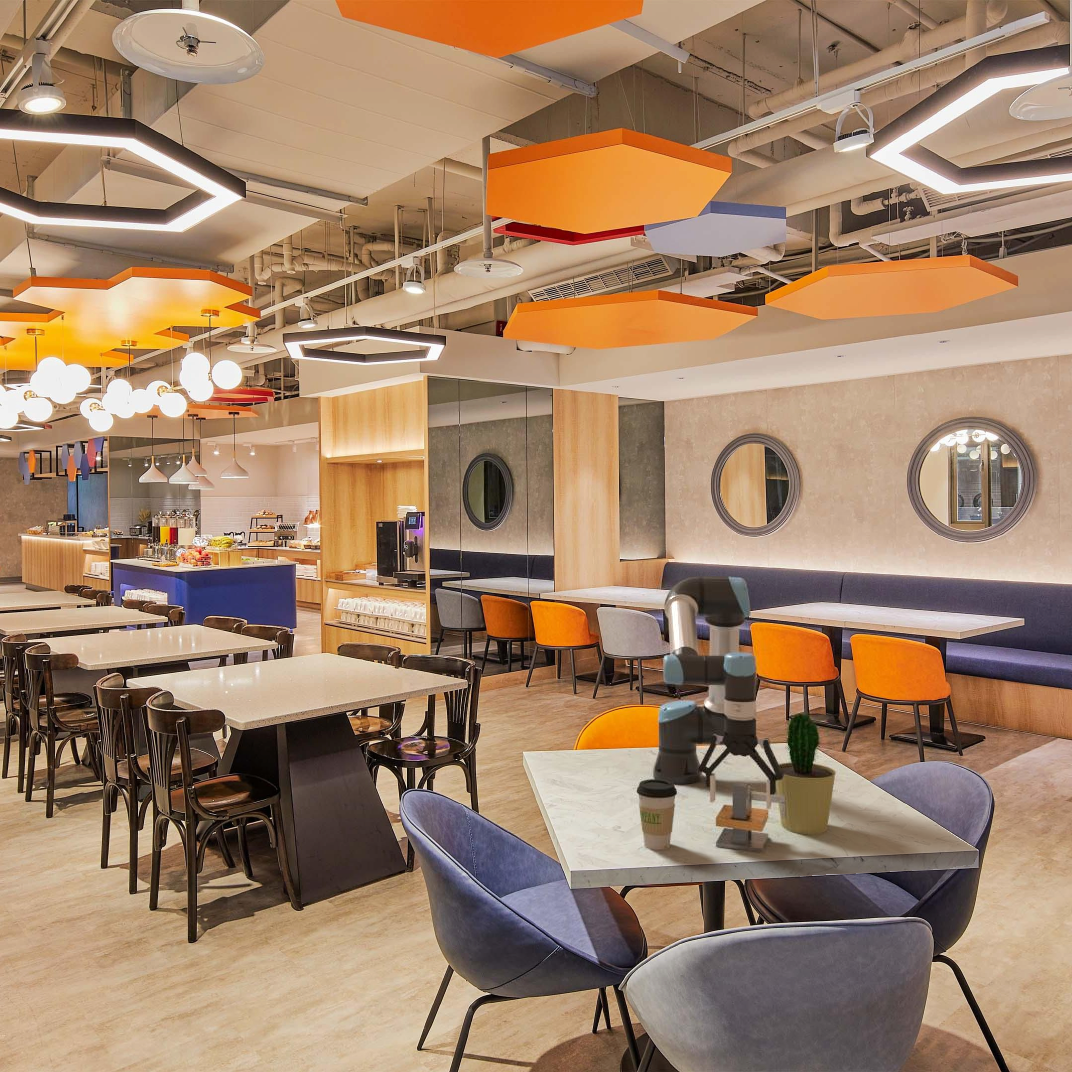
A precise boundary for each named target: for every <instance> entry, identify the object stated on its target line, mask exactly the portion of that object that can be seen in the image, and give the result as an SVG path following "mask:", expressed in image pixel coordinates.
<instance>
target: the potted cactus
mask: <svg viewBox="0 0 1072 1072" xmlns="http://www.w3.org/2000/svg"><path fill="white" fill-rule="evenodd" d="M815 721H816V720H815V719H813V716H810V714H808V713H807V712H804V713H795V715H792V717H791V719H790V720H787V725H788V726H787V727H786V728H785V729H784V730H787V732H786V734H787V737H785V739H786V744H787V745H785V750H786V751H787V757H788V756H789V760H790V761H789V762H783V763H782V762H781V763H778V764H779V766H780V768H781V770H782V772H783V774H784V776H783V778H782V780H777V781H776V794H782V795H786V817H785V818H782V803H777V804H778V809H779V816H780V824H781V827H782V828H783V829H785V830H787V831H788V832H792V833H796V834H800V835H801V834H802V835H819V834H823V833H825V832H826V831H827V830H828V825H829V820H830V819H829V818H830V811H831V803H832V798H833V791H834V784H835V776H836V771H835V770H834V769H833V768H831V767H829V766H826V765H822V764H817V763H815V762H816V761H817V760H816V758H819V756H818V755H817V753H819V751H818V749H819V748H820V746H821V742H822V737H821V734H820V732H819V730H818V725H816V724H817V723H816V722H815ZM820 749H821V748H820ZM773 773H774V774H775V772H774V771H773Z"/></svg>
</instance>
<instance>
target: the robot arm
mask: <svg viewBox="0 0 1072 1072" xmlns="http://www.w3.org/2000/svg"><path fill="white" fill-rule="evenodd" d="M748 591H749V589H748V586H747V582H746V580H745V579H744V578H743V577H733V576H705V577H704V576H703V577H702V576H700V577H699V576H693V577H688V578H686V579H683V580H681V581H679V582H677V583H676V584H675V585H674V586H673V587H672V588H671V589H670V590H669V592H668V593H667V595H666V597H665V600H664V613H665V616H666V618H667V619H668V635H669V654H666V655H664V657H663V661H662V662H663V667H662V668H663V671H662V672H663V681H664V683H665V684H667V685H677V686H682V685H683V686H684V685H685V686H686V685H687V686H692V685H693V686H699V685H700V686H708V696H707V697H706V698H705V699H704V701H703V706H702V705H701V706H700V705H699V706H698V704H697V703H696V701H695V700H686V699H685V700H674V701H670V702H666V703H664V704H662V705H660V706H659V708H658V719H657V722H658V752H657V756H656V759H655V762H654V766H653V768H652V777H653V779H661V780H667V781H670V782H672V783H674V785H675V784H676V785H677V784H679V785H680V784H681V785H682V784H683V785H686V784H695V783H698V782H701V780H703V773H704V774H705V786H706V788H709V802H710V803H712V804H713V803H714V802H715V801H716V773H714V772H713V771H715V769H716V768H718V767H719V765H720V764H721V763H722V762H723V760H725V759H726V758H727V756H728V755H729V754H731V755H732V756H741V757H748V756H749V757H750V758H751V759H752V760H753V761H754V762H755V764H756V765H757V766H758V767H759V769H760V770H761V771H762V773H764V775H765V776H766V778H767V780H766V783H765V784H766V787H765V788H766V792H765V793H766V796H767V802H766V810H770V809H771V807H772V802H771V795H774V794H776V793H777V790H776V781H777V780H782V778H783V776H784V774H783V772H782V770H781V768H780V766H779V764H780V763H779V762H778V760H777V758H776V756H775V754H774V752H773V749H772V747H771V741H770V740H771V739H770V738H769V737H766V738H763V739H762V738H761V739H759V738H758V737H757V719H756V718H755V717H756V716H757V697H756V694H757V693H756V692H757V690H756V689H757V687H756V686H757V671H758V669H757V663H756V656H755V655H754V654H752V653H749V652H742V651H741V652H740V651H739V650H740V646H739V645H740V628H741V627H742V626H743V625H744V624H745V623H746V618H748V617H750V616H751V603H750V596H749V592H748ZM696 617H704V622H705V623H706V624H707V625H708V626H709V655H702V654H700V653H699V643H698V641H699V640H698V633H697V623H696V622H697V621H696ZM698 745H706V746H707V745H708V749H707V750H706V752H705V754H704V756H703V759H702V760H701V763H700V760H699V756H698V754H697V746H698ZM717 746H724V747H726V748H725V749H724V750H723V752H721V754H720V755H718V757H717V758H716V759H715V760H714V761H713V762H712V764H710V766H709V767H707V765H708V763H709V761H710V759H711V757H712V755H713V753H714V751H715V749H716V747H717ZM757 746H760V748H761V749H763V750H764V753H765V755H766V758H767V760H768V761H769V764H770V765H771V767H772V769H771V767H770V766H768V764H767V762H765V760H764V759H763V758H762V757H761V755H760V754H759V752H758V750H757V749H756V747H757ZM772 770H773V771H772ZM774 772H775V774H774Z"/></svg>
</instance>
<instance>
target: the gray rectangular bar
mask: <svg viewBox="0 0 1072 1072" xmlns="http://www.w3.org/2000/svg"><path fill="white" fill-rule="evenodd" d="M748 785H749V783H746V782H738V781H736V782H734V783H733V784H732V806H733V819H734V820H743V821H748ZM732 829H733V843H736V844H743V845H746V844H747V842H748V830H743V829H735V828H732Z"/></svg>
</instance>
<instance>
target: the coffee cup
mask: <svg viewBox="0 0 1072 1072" xmlns="http://www.w3.org/2000/svg"><path fill="white" fill-rule="evenodd" d="M636 793H637V794H638V801H639V802H638V807H639V816H640V824H641V831H642V835H643V837H642V838H643V843H644V847H645V848H647V849H650V850H655V851H663V850H667V849H669V848H670V847H671V846H670V845H671V837H672V833H673V827H674V826H673V825H674V816H675V807H676V804H675V801H676V800H675V799H676V795H677V794H678V791H677V788H676V787H675V784H674V783H672V782H670V781H667V780H661V779H655V778H650V779H649V778H648V779H644V780H641V781H640V782H639V783H638V786H637V788H636Z"/></svg>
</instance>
